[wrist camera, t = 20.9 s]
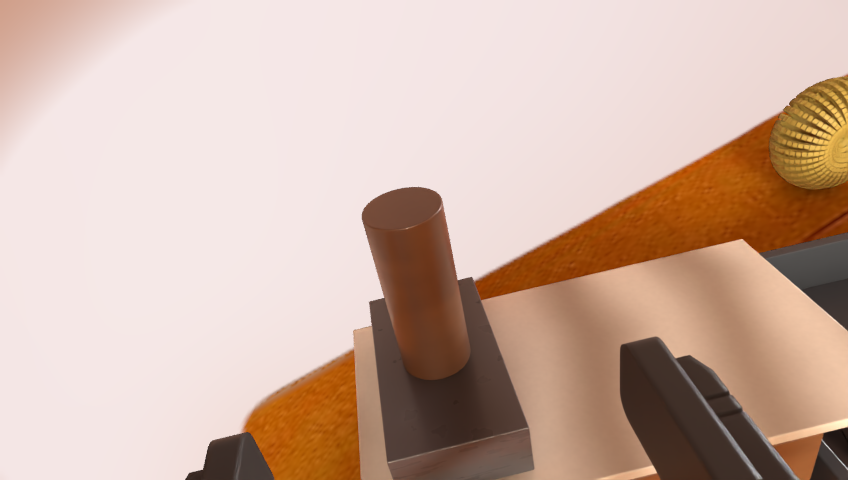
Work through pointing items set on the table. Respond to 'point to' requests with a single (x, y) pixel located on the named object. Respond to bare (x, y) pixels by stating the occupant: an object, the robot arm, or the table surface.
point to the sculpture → (813, 137)
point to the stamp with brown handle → (437, 353)
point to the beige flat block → (682, 334)
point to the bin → (839, 297)
